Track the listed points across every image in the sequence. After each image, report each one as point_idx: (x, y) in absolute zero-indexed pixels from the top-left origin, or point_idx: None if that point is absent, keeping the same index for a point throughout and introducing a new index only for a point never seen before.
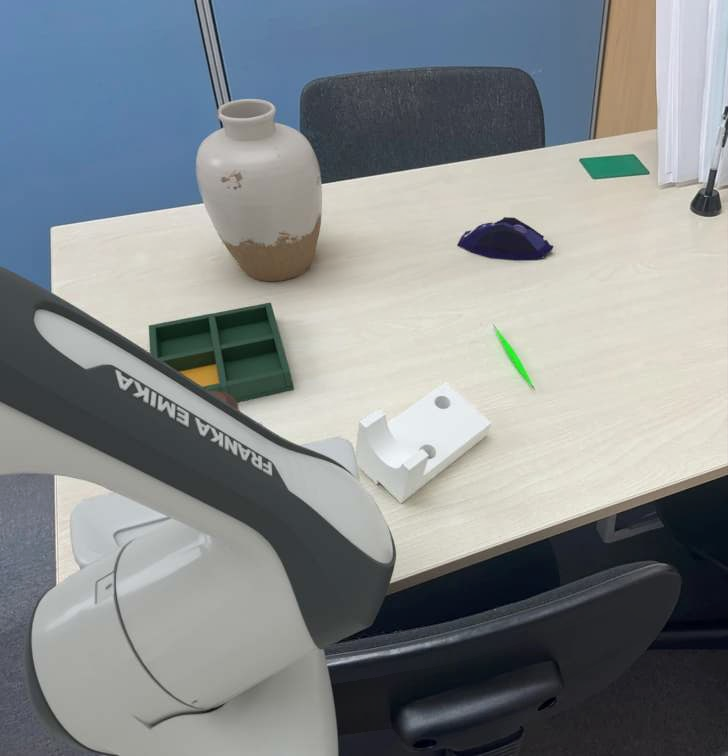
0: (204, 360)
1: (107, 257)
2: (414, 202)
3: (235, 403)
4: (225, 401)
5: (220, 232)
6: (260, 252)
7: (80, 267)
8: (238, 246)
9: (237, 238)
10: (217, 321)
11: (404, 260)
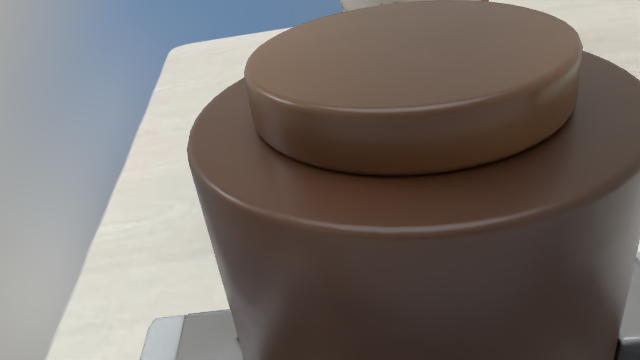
0: None
1: (211, 66)
2: (594, 4)
3: (613, 67)
4: (563, 26)
5: (349, 3)
6: None
7: (180, 75)
8: None
9: (374, 5)
10: None
11: (611, 56)
